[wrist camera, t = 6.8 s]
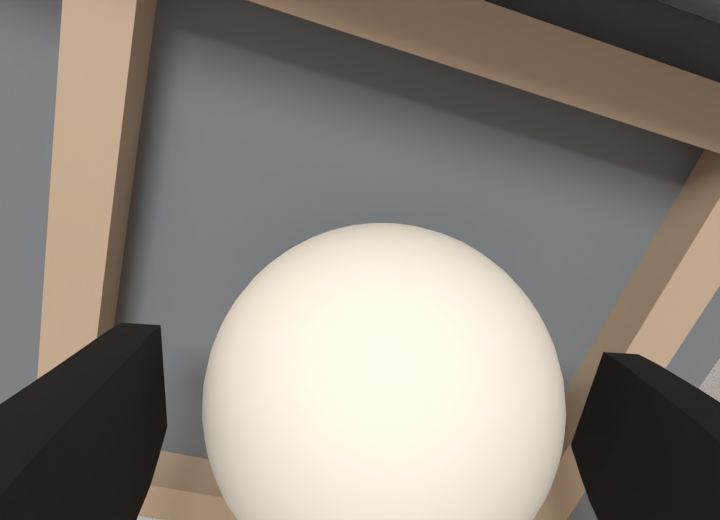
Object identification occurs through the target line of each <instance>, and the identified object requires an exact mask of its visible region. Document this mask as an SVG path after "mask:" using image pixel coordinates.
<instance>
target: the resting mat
mask: <svg viewBox="0 0 720 520" xmlns="http://www.w3.org/2000/svg"><path fill="white" fill-rule="evenodd" d="M368 223H397V224H405V225H412V226H417V227H421V228H425V229H429V230H432V231H436V232H439V233H443V234H445V235H447V236H450V237H452V238H455V239H457V240H459V241H462V242H464V243H465V244H467V245H469V246H470V247H472V248H474V249H475V250H477V251H479V252H480V253H482V254H483V255H485V256H486V257H487V258H489V259H490V260H491V261H493V262H494V263H495V264H496V265H498V266H499V267H500V268H501V269H503V270H504V271H505V272H506V273H507V274H508V275H509V276H510V277H511V278H512V279H513V281H514V282H515V283H516V284H517V285H518V286H519V287H520V288H521V289H522V291H523V292H524V293H525V294H526V295H527V297H528V298H529V300H530V301H531V303H532V304H533V306H534V307H535V309H536V310H537V312H538V313H539V315H540V317H541V319H542V321H543V322H544V324H545V326H546V328H547V331H548V333H549V335H550V337H551V339H552V342H553V344H554V346H555V350H556V354H557V357H558V361H559V365H560V369H561V372H562V376H563V380H564V392H565V405H566V425H565V435H564V443H563V450H562V455H561V458H560V462H559V466H558V470H557V472H556V475H555V478H554V481H553V484H552V486H551V488H550V491H549V493H548V495H547V498H546V500H545V501H544V503H543V505H542V506H541V508H540V510H539V511H538V513H537V514H536V516H535V518H534V519H533V520H598V519H597V517H596V515H595V513H594V511H593V508H592V506H591V504H590V502H589V499H588V496H587V493H586V490H585V488H584V485H583V482H582V479H581V476H580V473H579V470H578V467H577V464H576V461H575V457H574V454H573V451H572V448H571V443H572V440H573V437H574V434H575V431H576V428H577V425H578V423H579V420H580V417H581V414H582V411H583V408H584V405H585V403H586V400H587V397H588V394H589V391H590V388H591V385H592V383H593V380H594V377H595V374H596V371H597V368H598V365H599V363H600V360H601V357H602V354H603V352H611V353H627V354H639V355H641V356H643V357H645V358H647V359H649V360H651V361H653V362H654V363H656V364H658V365H660V366H662V367H663V368H665V369H667V370H668V371H670V372H672V373H673V374H675V375H677V376H678V377H680V378H682V379H683V380H685V381H687V382H688V383H690V384H691V385H693V386H695V387H696V388H699V387H700V385H701V384H702V382H703V381H704V380H705V378H706V377H707V375H708V374H709V372H710V371H711V370H712V368H713V367H714V365H715V364H716V362H717V361H718V360H719V358H720V83H719V82H716V81H713V80H710V79H707V78H704V77H702V76H699V75H696V74H693V73H690V72H687V71H684V70H682V69H679V68H676V67H673V66H670V65H667V64H664V63H661V62H659V61H656V60H653V59H650V58H647V57H644V56H641V55H639V54H636V53H633V52H630V51H627V50H624V49H621V48H619V47H616V46H613V45H610V44H607V43H604V42H601V41H598V40H596V39H593V38H590V37H587V36H584V35H581V34H578V33H576V32H573V31H570V30H567V29H564V28H561V27H558V26H555V25H553V24H550V23H547V22H544V21H541V20H538V19H535V18H533V17H530V16H527V15H524V14H521V13H518V12H515V11H513V10H510V9H507V8H504V7H501V6H498V5H495V4H492V3H490V2H487V1H484V0H0V404H1V403H2V402H4V401H5V400H7V399H9V398H10V397H12V396H13V395H15V394H16V393H18V392H19V391H20V390H22V389H23V388H25V387H26V386H28V385H29V384H31V383H32V382H34V381H35V380H37V379H38V378H40V377H41V376H43V375H44V374H46V373H47V372H49V371H50V370H52V369H53V368H54V367H56V366H57V365H59V364H60V363H62V362H63V361H65V360H66V359H68V358H69V357H70V356H72V355H73V354H75V353H76V352H78V351H79V350H81V349H82V348H83V347H85V346H86V345H88V344H89V343H91V342H92V341H93V340H95V339H96V338H98V337H99V336H101V335H102V334H104V333H105V332H107V331H108V330H110V329H111V328H113V327H115V326H116V325H118V324H119V323H135V324H151V325H161V337H162V352H163V367H164V381H165V396H166V411H167V430H166V434H165V437H164V441H163V445H162V448H161V452H160V455H159V459H158V462H157V466H156V469H155V472H154V476H153V479H152V482H151V486H150V488H149V491H148V493H147V496H146V498H145V501H144V503H143V505H142V508H141V510H140V512H139V516H145V517H152V518H158V519H164V520H237V519H236V517H235V516H234V514H233V513H232V511H231V510H230V508H229V507H228V505H227V504H226V502H225V500H224V497H223V495H222V493H221V491H220V489H219V487H218V484H217V482H216V480H215V477H214V475H213V472H212V469H211V465H210V462H209V459H208V455H207V450H206V444H205V439H204V431H203V423H202V400H203V383H204V379H205V374H206V370H207V365H208V361H209V357H210V352H211V349H212V346H213V344H214V341H215V339H216V336H217V334H218V331H219V329H220V327H221V325H222V323H223V321H224V318H225V317H226V315H227V313H228V312H229V310H230V308H231V307H232V305H233V303H234V302H235V300H236V299H237V298H238V297H239V296H240V294H241V293H242V292H243V291H244V289H245V288H246V287H247V286H248V285H249V283H250V282H251V281H252V280H253V278H254V277H255V276H256V275H257V274H258V273H260V272H261V271H262V270H263V269H264V268H265V267H266V266H267V265H268V264H269V263H270V262H272V261H273V260H275V259H276V258H278V257H279V256H280V255H282V254H283V253H285V252H286V251H288V250H289V249H291V248H293V247H294V246H296V245H298V244H300V243H302V242H304V241H306V240H308V239H310V238H312V237H314V236H317V235H320V234H322V233H325V232H328V231H330V230H334V229H338V228H342V227H347V226H351V225H358V224H368Z"/></svg>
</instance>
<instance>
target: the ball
mask: <svg viewBox="0 0 720 520" xmlns="http://www.w3.org/2000/svg"><path fill="white" fill-rule="evenodd" d="M202 423H203V431H204V439H205V444H206V450H207V455H208V459H209V462H210V465H211V469H212V472H213V475H214V477H215V480H216V482H217V484H218V487H219V489H220V491H221V493H222V495H223V497H224V500H225V502H226V504H227V505H228V507H229V508H230V510H231V511H232V513H233V514H234V516H235V517H236V519H237V520H533V519H534V518H535V516H536V514H537V513H538V511H539V510H540V508H541V506H542V505H543V503H544V501H545V500H546V498H547V495H548V493H549V491H550V488H551V486H552V484H553V481H554V478H555V475H556V472H557V470H558V466H559V462H560V458H561V455H562V450H563V443H564V435H565V425H566V405H565V392H564V380H563V376H562V372H561V369H560V365H559V361H558V357H557V354H556V350H555V346H554V344H553V342H552V339H551V337H550V335H549V333H548V331H547V328H546V326H545V324H544V322H543V321H542V319H541V317H540V315H539V313H538V312H537V310H536V309H535V307H534V306H533V304H532V303H531V301H530V300H529V298H528V297H527V295H526V294H525V293H524V292H523V291H522V289H521V288H520V287H519V286H518V285H517V284H516V283H515V282H514V281H513V279H512V278H511V277H510V276H509V275H508V274H507V273H506V272H505V271H504V270H503V269H501V268H500V267H499V266H498V265H496V264H495V263H494V262H493V261H491V260H490V259H489V258H487V257H486V256H485V255H483V254H482V253H480V252H479V251H477V250H475V249H474V248H472V247H470V246H469V245H467V244H465V243H464V242H462V241H459V240H457V239H455V238H452V237H450V236H447V235H445V234H443V233H439V232H436V231H432V230H429V229H425V228H421V227H417V226H412V225H405V224H397V223H368V224H358V225H351V226H347V227H342V228H338V229H334V230H330V231H328V232H325V233H322V234H320V235H317V236H314V237H312V238H310V239H308V240H306V241H304V242H302V243H300V244H298V245H296V246H294V247H293V248H291V249H289V250H288V251H286V252H285V253H283V254H282V255H280V256H279V257H278V258H276V259H275V260H273V261H272V262H270V263H269V264H268V265H267V266H266V267H265V268H264V269H263V270H262V271H261V272H260V273H258V274H257V275H256V276H255V277H254V278H253V280H252V281H251V282H250V283H249V285H248V286H247V287H246V288H245V289H244V291H243V292H242V293H241V294H240V296H239V297H238V298H237V299H236V300H235V302H234V303H233V305H232V307H231V308H230V310H229V312H228V313H227V315H226V317H225V318H224V321H223V323H222V325H221V327H220V329H219V331H218V334H217V336H216V339H215V341H214V344H213V346H212V349H211V352H210V357H209V361H208V365H207V370H206V374H205V379H204V383H203V400H202Z"/></svg>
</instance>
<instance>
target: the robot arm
mask: <svg viewBox="0 0 720 520" xmlns="http://www.w3.org/2000/svg"><path fill="white" fill-rule="evenodd" d="M166 430H167V411H166V396H165V381H164V367H163V352H162V337H161V325H151V324H135V323H119V324H118V325H116V326H115V327H113V328H111V329H110V330H108V331H107V332H105V333H104V334H102V335H101V336H99V337H98V338H96V339H95V340H93V341H92V342H91V343H89V344H88V345H86V346H85V347H83V348H82V349H81V350H79V351H78V352H76V353H75V354H73V355H72V356H70V357H69V358H68V359H66V360H65V361H63V362H62V363H60V364H59V365H57V366H56V367H54V368H53V369H52V370H50V371H49V372H47V373H46V374H44V375H43V376H41V377H40V378H38V379H37V380H35V381H34V382H32V383H31V384H29V385H28V386H26V387H25V388H23V389H22V390H20V391H19V392H18V393H16V394H15V395H13V396H12V397H10V398H9V399H7V400H5V401H4V402H2V403H1V404H0V520H137V517H138V515H139V512H140V510H141V508H142V505H143V503H144V501H145V498H146V496H147V493H148V491H149V488H150V486H151V482H152V479H153V476H154V472H155V469H156V466H157V462H158V459H159V455H160V452H161V448H162V445H163V441H164V437H165V434H166ZM571 448H572V451H573V454H574V457H575V461H576V464H577V467H578V470H579V473H580V476H581V479H582V482H583V485H584V488H585V490H586V493H587V496H588V499H589V502H590V504H591V506H592V508H593V511H594V513H595V515H596V517H597V519H598V520H720V402H718V401H717V400H715V399H714V398H712V397H710V396H709V395H707V394H706V393H704V392H703V391H701V390H699V389H698V388H696V387H695V386H693V385H691V384H690V383H688V382H687V381H685V380H683V379H682V378H680V377H678V376H677V375H675V374H673V373H672V372H670V371H668V370H667V369H665V368H663V367H662V366H660V365H658V364H656V363H654V362H653V361H651V360H649V359H647V358H645V357H643V356H641V355H639V354H627V353H611V352H603V354H602V357H601V360H600V363H599V365H598V368H597V371H596V374H595V377H594V380H593V383H592V385H591V388H590V391H589V394H588V397H587V400H586V403H585V405H584V408H583V411H582V414H581V417H580V420H579V423H578V425H577V428H576V431H575V434H574V437H573V440H572V443H571Z"/></svg>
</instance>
